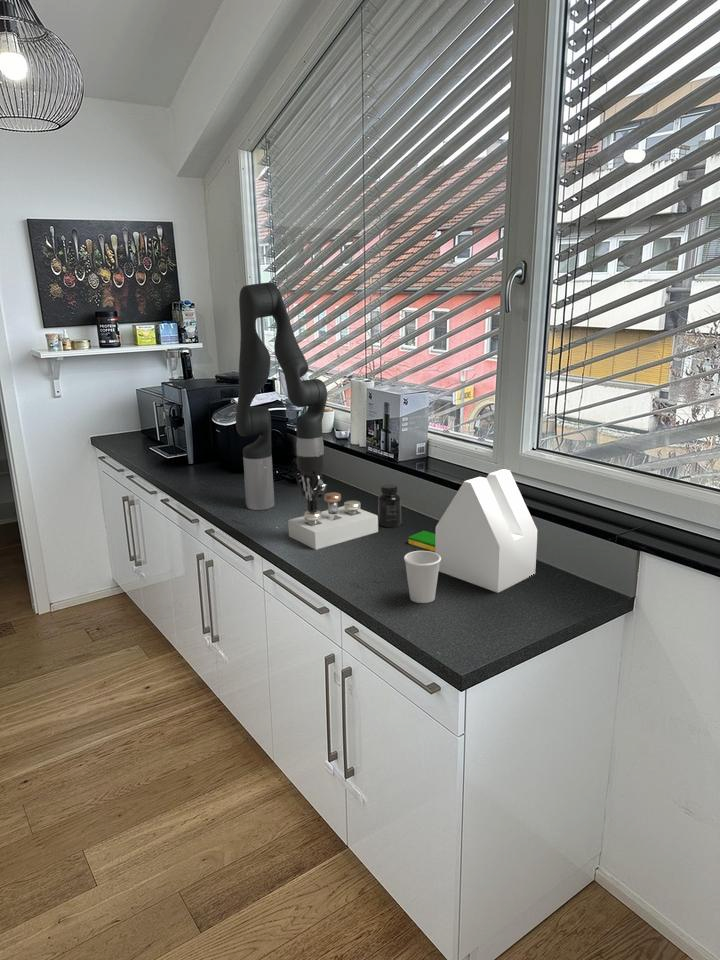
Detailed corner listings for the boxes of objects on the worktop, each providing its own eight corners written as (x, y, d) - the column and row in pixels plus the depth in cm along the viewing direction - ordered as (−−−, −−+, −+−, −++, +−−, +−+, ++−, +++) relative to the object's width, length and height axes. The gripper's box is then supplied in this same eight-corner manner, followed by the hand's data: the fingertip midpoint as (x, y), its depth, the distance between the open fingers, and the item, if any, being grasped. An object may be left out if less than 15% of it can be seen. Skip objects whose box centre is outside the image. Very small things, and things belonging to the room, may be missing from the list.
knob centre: (321, 512, 196) (320, 494, 194) (335, 509, 198) (334, 491, 197) (331, 516, 192) (330, 498, 190) (344, 513, 195) (344, 494, 193)
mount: (289, 536, 196) (288, 519, 195) (349, 520, 209) (349, 504, 207) (315, 549, 185) (315, 532, 184) (378, 531, 198) (377, 515, 197)
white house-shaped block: (435, 570, 170) (436, 474, 163) (473, 553, 180) (475, 463, 174) (497, 593, 157) (501, 490, 150) (535, 574, 167) (540, 476, 160)
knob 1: (301, 530, 193) (300, 512, 191) (315, 527, 195) (315, 509, 194) (311, 535, 189) (310, 516, 187) (325, 531, 192) (324, 513, 190)
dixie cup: (419, 586, 160) (419, 547, 158) (447, 597, 155) (448, 556, 152) (396, 598, 155) (396, 557, 152) (425, 609, 149) (425, 567, 146)
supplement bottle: (404, 522, 206) (404, 484, 203) (396, 529, 200) (395, 490, 197) (383, 519, 209) (383, 482, 205) (374, 526, 203) (374, 488, 200)
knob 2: (341, 520, 201) (340, 502, 199) (354, 516, 204) (353, 499, 202) (351, 524, 197) (350, 506, 196) (364, 520, 200) (363, 503, 198)
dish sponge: (447, 557, 179) (447, 548, 179) (407, 544, 189) (407, 536, 188) (463, 549, 184) (463, 541, 183) (423, 538, 193) (423, 530, 193)
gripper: (286, 450, 189) (289, 509, 194) (312, 458, 179) (314, 520, 183) (308, 446, 193) (310, 503, 198) (335, 454, 183) (337, 514, 188)
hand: (312, 511), depth 191 cm, fingers closed
